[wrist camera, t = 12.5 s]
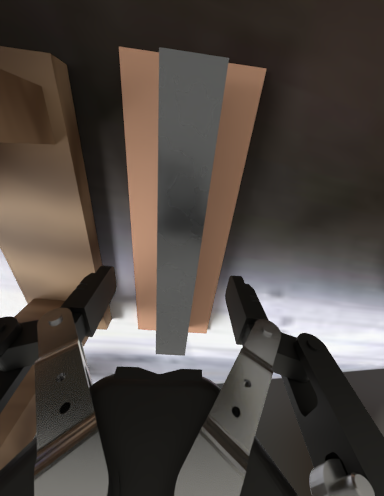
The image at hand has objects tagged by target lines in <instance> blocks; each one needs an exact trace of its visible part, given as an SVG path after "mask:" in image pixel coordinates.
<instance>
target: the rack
mask: <svg viewBox="0 0 384 496" xmlns="http://www.w3.org/2000/svg"><path fill="white" fill-rule="evenodd" d="M0 248H1V250H2V252H3V254H4V256H5V258H6V260H7V262H8V264H9V266H10V268H11V270H12V272H13V274H14V276H15V278H16V280H17V283H18V285H19V287H20V289H21V291H22V293H23V295H24V297H25V299H26V301H27V303H28V305H27V306H26V307H24V308H23V309H22V310H21V311H20V312H19V313H18V314H17V315H16V316H15V317H14V318H16V319H17V320H18V322H19V323H23V322H29V321H34V320H39V319H40V318H41V317H42V316H43V315H44V314H46V313H47V312H49V311H51V310H53V309H57V308H60V307H61V306H62V304H63V303H64V302H65V301H66V299H67V298H68V297H69V296H70V295H71V293H72V292H73V291H74V290H75V289H76V287H77V286H78V285H79V284H80V282H81V281H82V280H83V279H84V277H86V276H87V275H89V274H90V273H96V271H97V270H98V269H99V267H100V266H102V262H101V256H100V250H99V245H98V239H97V233H96V228H95V222H94V216H93V211H92V205H91V199H90V194H89V188H88V182H87V177H86V171H85V165H84V160H83V154H82V148H81V143H80V137H79V132H78V126H77V120H76V115H75V109H74V103H73V98H72V92H71V86H70V81H69V75H68V69H67V65H66V64H65V63H63V62H62V61H61V60H59V59H58V58H56V57H55V56H53V55H52V54H50V53H44V52H38V51H31V50H24V49H17V48H10V47H3V46H0ZM111 320H112V318H111V313H110V307H109V306H108V307H107V309H106V311H105V313H104V315H103V317H102V319H101V321H100V323H99V325H98V327H97V329H107V328H108V326H109V324H110V322H111ZM87 339H88V337H84V339H83V341H82V345H83V346H84V344H85V343H86V341H87ZM35 434H36V401H35V368H34V365H32V367H31V368H30V370H29V371H28V373H27V374H26V376H25V377H24V379H23V380H22V382H21V383H20V385H19V386H18V388H17V389H16V391H15V392H14V394H13V395H12V397H11V398H10V400H9V401H8V403H7V404H6V406H5V407H4V409H3V410H2V412H1V414H0V470H1V469H2V468H3V467H4V466H5V465H6V464H8V463H9V462H10V461H11V460H12V459H13V458H14V457H15V456H16V455H17V454H18V453H19V452H20V451H21V450H23V449H24V448H25V447H26V446H27V445H28V444H29V443H30V442H31V441H32V440H33V438H34V436H35Z"/></svg>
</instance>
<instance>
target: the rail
mask: <svg viewBox="0 0 384 496" xmlns="http://www.w3.org/2000/svg"><path fill="white" fill-rule="evenodd" d="M228 62H229V58H226V57H219V56H213V55H206V54H200V53H194V52H187V51H181V50H174V49H168V48H161V47H159V105H158V200H157V296H156V354H166V355H184V356H185V349H186V342H187V336H188V329H189V322H190V316H191V309H192V302H193V296H194V289H195V282H196V276H197V269H198V262H199V256H200V249H201V242H202V236H203V229H204V222H205V216H206V209H207V202H208V196H209V189H210V182H211V176H212V169H213V162H214V156H215V149H216V142H217V136H218V129H219V122H220V116H221V109H222V102H223V96H224V89H225V82H226V76H227V69H228Z"/></svg>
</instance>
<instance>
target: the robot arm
mask: <svg viewBox="0 0 384 496" xmlns="http://www.w3.org/2000/svg"><path fill="white" fill-rule="evenodd" d="M115 291H116V277H115V270H114V267H112V266H100V267H99V269H98V270H97V271H96V273H90V274H89V275H87V276H86V277H84V279H83V280H82V281H81V282H80V284H79V285H78V286H77V287H76V289H75V290H74V291H73V292H72V293H71V295H70V296H69V297H68V298H67V299H66V301H65V302H64V303H63V304H62V306H61V307H60V308H57V309H53V310H51V311H49V312H47V313H46V314H44V315H43V316H42V317H41V318H40V319H39V320H34V321H29V322H23V323H19V322H18V320H17V319H16V318H14V317H3V318H0V414H1V412H2V410H3V409H4V407H5V406H6V404H7V403H8V401H9V400H10V398H11V397H12V395H13V394H14V392H15V391H16V389H17V388H18V386H19V385H20V383H21V382H22V380H23V379H24V377H25V376H26V374H27V373H28V371H29V370H30V368H31V367H32V365H34V368H35V401H36V433H37V436H36V438H34V439H33V440H32V441H31V442H30V443H29V444H28V445H27V446H26V447H25V448H24V449H23V450H21V451H20V452H19V453H18V454H17V455H16V456H15V457H14V458H13V459H12V460H11V461H10V462H9V463H8V464H6V465H5V466H4V467H3V468H2V469H1V470H0V496H298V495H297V493H296V492H295V490H294V489H293V488H292V486H291V485H290V483H289V482H288V481H287V479H286V478H285V477H284V475H283V474H282V472H281V471H280V470H279V468H278V467H277V466H276V464H275V463H274V461H273V460H272V458H271V457H270V456H269V454H268V453H267V452H266V450H265V449H264V447H263V446H262V445H261V443H260V442H259V441H258V439H257V438H256V436H255V433H256V430H257V426H258V423H259V419H260V416H261V412H262V409H263V406H264V402H265V399H266V395H267V392H268V388H269V385H270V381H271V378H272V374H273V372H275V373H277V374H280V375H281V376H282V379H283V382H284V385H285V387H286V390H287V393H288V396H289V399H290V401H291V404H292V407H293V409H294V412H295V415H296V418H297V421H298V424H299V427H300V429H301V432H302V435H303V438H304V441H305V443H306V446H307V449H308V451H309V455H310V457H311V460H312V463H313V466H314V469H313V470H312V471H311V474H310V489H311V493H312V496H384V437H383V435H382V434H381V432H380V431H379V429H378V427H377V426H376V424H375V423H374V421H373V420H372V418H371V416H370V415H369V413H368V412H367V410H366V409H365V407H364V406H363V404H362V402H361V401H360V399H359V398H358V396H357V395H356V393H355V391H354V390H353V388H352V387H351V385H350V384H349V382H348V380H347V379H346V377H345V376H344V374H343V373H342V371H341V369H340V368H339V366H338V365H337V363H336V362H335V360H334V358H333V357H332V355H331V354H330V352H329V351H328V349H327V348H326V346H325V345H324V344H323V342H321V341H320V340H319V339H318V338H316V337H315V336H313V335H311V334H307V333H302V334H300V335H299V336H298V337H297V338H296V337H293V336H290V335H287V334H284V333H282V332H280V330H279V328H278V327H277V326H276V325H275V324H274V323H272V322H270V321H269V320H268V318H267V316H266V314H265V312H264V310H263V308H262V305H261V303H260V302H259V299H258V297H257V295H256V293H255V290H254V289H253V288H252V287H251V286H250V285H249V284H245V283H244V280H243V278H242V277H241V276H230V278H229V282H228V285H227V289H226V294H225V299H226V304H227V308H228V312H229V316H230V320H231V324H232V328H233V333H234V337H235V341H236V344H239V345H243V348H242V349H241V351H240V353H239V355H238V357H237V359H236V361H235V363H234V365H233V367H232V369H231V371H230V373H229V375H228V377H227V379H226V381H225V383H224V385H223V387H222V389H220V388H219V387H218V386H217V385H216V384H215V383H213V382H212V381H211V380H209V379H207V378H205V377H202V370H195V369H179V370H176V371H172V372H168V373H164V374H156V373H153V372H150V371H147V370H145V369H142V368H139V367H117V369H116V372H115V374H112V375H109V376H107V377H105V378H103V379H101V380H99V381H97V382H96V383H94V384H93V383H92V379H91V376H90V372H89V369H88V365H87V361H86V357H85V353H84V349H83V345H82V341H83V339H84V337H93V335H94V333H95V331H96V329H97V327H98V325H99V323H100V321H101V319H102V317H103V315H104V313H105V311H106V309H107V307H108V306H109V304H110V302H111V300H112V298H113V296H114V294H115Z"/></svg>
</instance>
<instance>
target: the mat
mask: <svg viewBox="0 0 384 496" xmlns="http://www.w3.org/2000/svg"><path fill="white" fill-rule="evenodd" d="M119 57H120V72H121V86H122V101H123V115H124V129H125V144H126V158H127V173H128V187H129V202H130V216H131V230H132V245H133V259H134V274H135V288H136V303H137V317H138V329H143V330H156V296H157V200H158V105H159V52H152V51H146V50H139V49H132V48H126V47H119ZM265 73H266V68H259V67H252V66H246V65H239V64H232V63H228V69H227V76H226V82H225V89H224V96H223V102H222V109H221V116H220V122H219V129H218V136H217V142H216V149H215V156H214V162H213V169H212V176H211V182H210V189H209V196H208V202H207V209H206V216H205V222H204V229H203V236H202V242H201V249H200V256H199V262H198V269H197V276H196V282H195V289H194V296H193V302H192V309H191V316H190V322H189V329H188V332H192V333H206V332H207V328H208V323H209V319H210V315H211V310H212V306H213V302H214V297H215V293H216V288H217V284H218V280H219V275H220V271H221V266H222V262H223V258H224V253H225V249H226V245H227V240H228V236H229V231H230V227H231V223H232V218H233V214H234V209H235V205H236V201H237V196H238V192H239V188H240V183H241V179H242V174H243V170H244V166H245V161H246V157H247V152H248V148H249V144H250V139H251V135H252V131H253V126H254V122H255V117H256V113H257V109H258V104H259V100H260V95H261V91H262V87H263V82H264V78H265Z"/></svg>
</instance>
